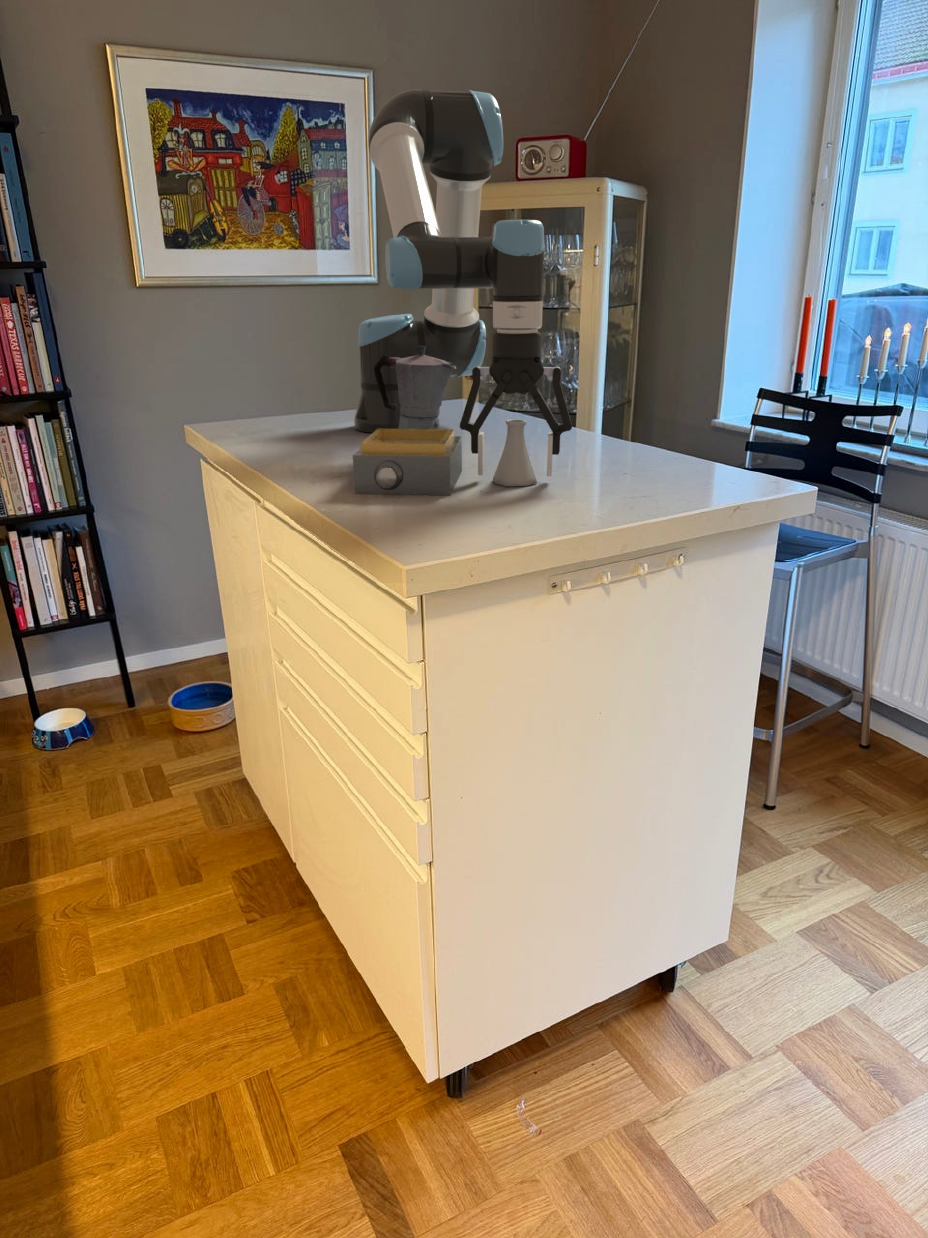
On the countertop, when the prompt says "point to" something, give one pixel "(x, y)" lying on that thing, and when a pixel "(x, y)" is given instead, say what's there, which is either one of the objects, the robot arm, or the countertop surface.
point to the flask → (515, 458)
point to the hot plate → (408, 462)
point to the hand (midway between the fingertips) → (514, 473)
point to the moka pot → (416, 388)
